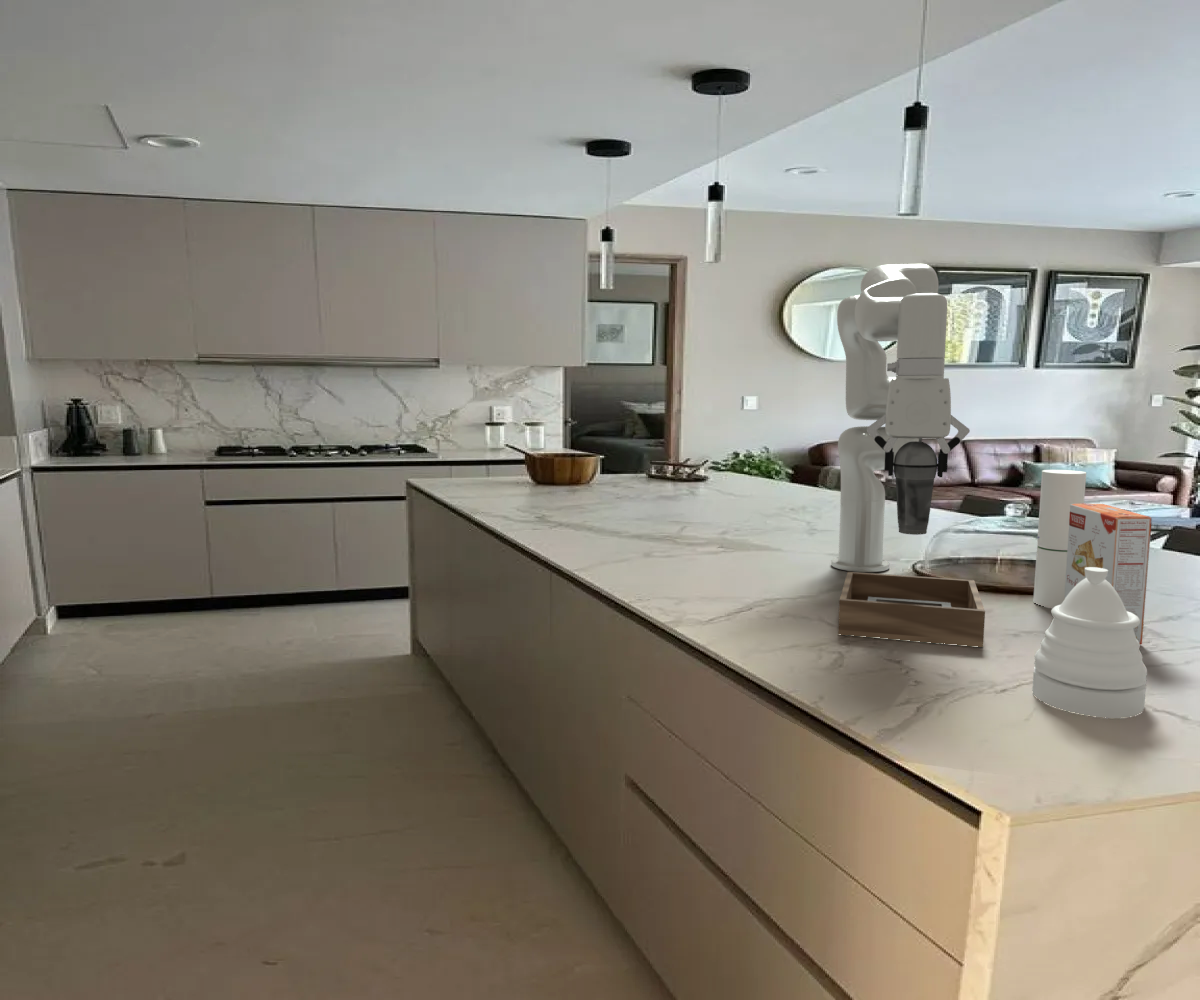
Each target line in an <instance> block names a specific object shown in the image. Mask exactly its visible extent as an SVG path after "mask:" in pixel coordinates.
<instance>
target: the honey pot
mask: <svg viewBox="0 0 1200 1000" xmlns="http://www.w3.org/2000/svg"><path fill="white" fill-rule="evenodd" d="M1107 573H1108V570H1107V569H1103V568H1097V567H1086V568H1085V575H1086V578H1085V579H1083V580H1082V581H1080V582H1079V583H1078V584H1077V585H1076V586H1075V587H1074V588H1073V589H1072V590H1071V591H1070V593H1069V594H1068V595H1067V597H1066V598H1065V600H1064V601H1063V603H1062V604H1061V605H1058V606H1055V607H1054V608H1051V610H1050V612H1051V616H1052V617H1053V619H1052V621H1051V623H1050V624H1049V627H1048V628H1047V629H1046V630H1045V631H1044V637H1043V639H1042V640H1041V641H1040V642H1041V643H1040V647H1039V648H1038V650H1036V652H1035V654H1034V662H1033V665H1034V667H1033V672H1032V673H1033V674H1032V675H1033V676H1032V688H1031V691H1033V693H1032V695H1033V694H1034V695H1035V696H1036V697H1037V698H1038V699H1040V700H1041V701H1043V702H1045V703H1047V704H1049V705H1051V706H1054V707H1056V708H1060V709H1063V710H1066V711H1070V712H1075V713H1079V714H1084V715H1090V716H1096V717H1104V718H1103V719H1108V718H1120V719H1122V718H1121V717H1130V716H1135V715H1137V714H1139V713H1141V712H1142V711H1143V712H1144V710H1145V703H1146V690H1147V684H1146V682H1147V676H1148V669H1147V667H1146V665H1145V664H1144V661H1143V654H1142V653H1141V651H1140V647H1141V645H1140V644H1139V642H1138V640H1137V639H1136V636H1135V633H1134V630H1133V628H1135V627H1137V626H1138V625H1139V624H1140V620H1139V618H1138V616H1136V615H1134V614H1133V613H1131V612H1128V611H1126V609H1125V607H1124V604H1123V602H1122V600H1121V599H1120V597H1119V595H1118V593H1117V592H1116V590H1115V589H1114V588H1113V586H1112V585H1111V584H1110V583H1109V582H1108V581H1107V580H1105V578H1106V576H1107ZM1034 695H1033V696H1034ZM1041 701H1040V702H1041ZM1051 706H1050V707H1051ZM1143 709H1144V710H1143ZM1143 712H1142V713H1143ZM1096 717H1095V718H1096ZM1105 717H1106V718H1105ZM1135 717H1136V716H1135ZM1130 718H1131V717H1130Z"/></svg>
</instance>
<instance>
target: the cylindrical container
mask: <svg viewBox="0 0 1200 1000" xmlns="http://www.w3.org/2000/svg"><path fill="white" fill-rule="evenodd" d="M1040 482H1041V484H1040V495H1039V496H1040V497H1039V499H1040V500H1039V509H1038V510H1039V513H1038V514H1039V515H1038V528H1037V540H1036V541H1037V542H1036V543H1037V544H1036V559H1035V569H1034V570H1035V572H1034V573H1035V574H1034V585H1033V586H1034V587H1033V588H1034V589H1033V602H1034V603H1036V604H1038V605H1037V606H1039V605H1041V606H1040V607H1042V606H1044V607H1043V608H1047V609H1053V608H1054V607H1055V606H1058V605H1061V604H1062V603H1063V601H1064V595H1065V580H1066V565H1067V549H1068V533H1069V517H1070V505H1071V504H1082V503H1084V504H1085V496H1086V495H1085V494H1086V482H1087V472H1086V471H1082V470H1073V469H1072V470H1071V469H1043V470H1041V481H1040ZM1034 603H1033V604H1034ZM1036 604H1035V605H1036Z"/></svg>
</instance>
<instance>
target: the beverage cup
mask: <svg viewBox="0 0 1200 1000" xmlns="http://www.w3.org/2000/svg"><path fill="white" fill-rule="evenodd" d="M893 466H894V470H893V476H894V477H895V492H896V493H895V495H896V508H897V509H896V511H897V513H896V514H897V516H896V517H897V525H898V532H899V533H900V534H905V535H913V536H917V535H925V534H927V533H928V532H927V530H928V526H929V521H930V514H931V505H932V504H931V503H932V497H933V491H934V482H935V478H936V475H937V469H938V455H937V454H936V452H935V450H934V448H933V447H931V445H929V444H928V443H926V442H924V441H923V438H919V442H908V443H906V444H904V445H903V446H902V447H901V448H900V449H899V450H898V451H897V453H896V455H895V458H894V463H893Z"/></svg>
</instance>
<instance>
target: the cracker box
mask: <svg viewBox="0 0 1200 1000" xmlns="http://www.w3.org/2000/svg"><path fill="white" fill-rule="evenodd" d="M1152 520H1153V518H1152V517H1151V516H1147V515H1144V514H1141V513H1137V512H1134V511H1129V510H1126V509H1123V508H1119V507H1116V506H1111V505H1109V504H1104V503H1085V502H1084V503H1082V504H1071V505H1070V517H1069V533H1068V549H1067V565H1066V580H1065V595H1064V600H1065V598H1066V597H1067V595H1068V594H1069V593H1070V591H1071V590H1072V589H1073V588H1074V587H1075V586H1076V585H1077V584H1078V583H1079V582H1080V581H1082V580H1083V579H1085V578H1086V575H1085V568H1086V567H1097V568H1103V569H1107V570H1108V573H1107V576H1106V578H1105V580H1107V581H1108V582H1109V583H1110V584H1111V585H1112V586H1113V588H1114V589H1115V590H1116V592H1117V593H1118V595H1119V597H1120V599H1121V600H1122V602H1123V604H1124V607H1125V609H1126V611H1128V612H1131V613H1133V614H1134V615H1136V616H1138V618H1139V620H1140V624H1139V625H1138V626H1137V627H1135V628H1133V630H1134V633H1135V636H1136V639H1137V640H1138V642H1139V644H1140V646H1141V645H1142V644H1143V634H1144V633H1143V632H1144V620H1145V612H1146V611H1145V610H1146V609H1145V608H1146V599H1147V597H1146V595H1147V585H1148V570H1149V560H1150V548H1151V547H1150V546H1151V535H1152V523H1153V521H1152Z"/></svg>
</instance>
